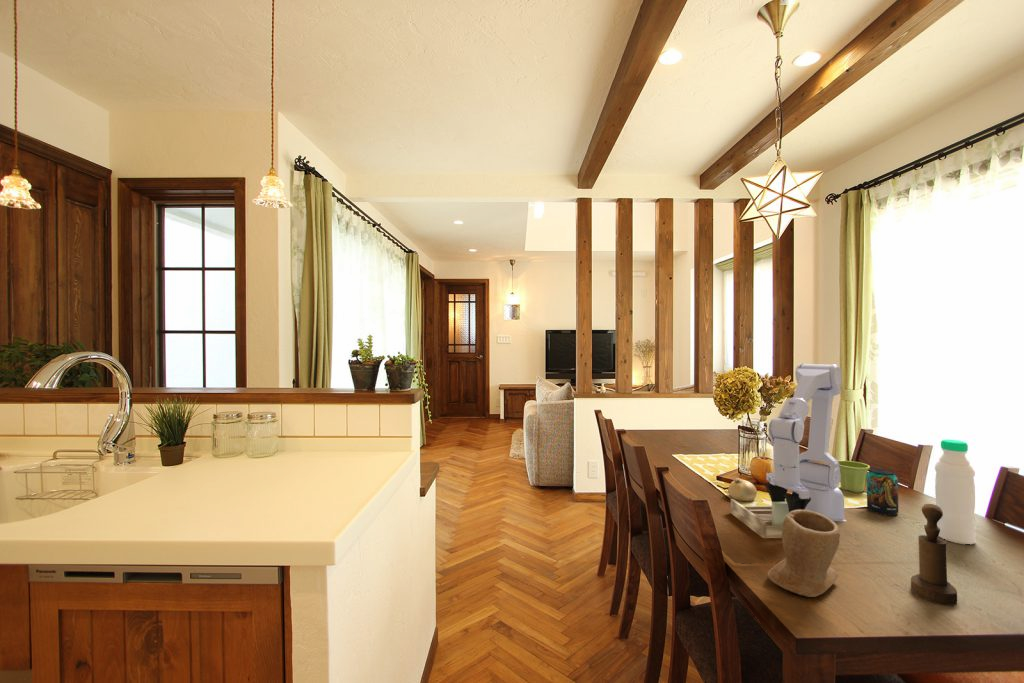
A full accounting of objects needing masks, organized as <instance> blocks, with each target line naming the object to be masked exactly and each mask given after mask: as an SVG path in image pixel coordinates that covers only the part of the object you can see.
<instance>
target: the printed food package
mask: <svg viewBox="0 0 1024 683" xmlns="http://www.w3.org/2000/svg"><path fill="white" fill-rule="evenodd" d="M866 506H867V508H868V509H869V510H870V511H871V512H873V513H875V514H879V515H884V516H895V515H897V514H898V513H899V478H898V477H897V476H896V473H895V472H894V471H893V470H890V469H889V470H888V469H884V468H878V467H877V468H874V467H873V468H872V467H871V468H869V469H868V472H867V474H866Z"/></svg>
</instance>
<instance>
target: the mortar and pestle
mask: <svg viewBox="0 0 1024 683" xmlns="http://www.w3.org/2000/svg"><path fill="white" fill-rule="evenodd" d="M921 513H922V514H923V516H924V517H925V520H926V524H924V528H923V529H924V532H925V534H922V535H921V534H920V535H918V538H917V539H918V540H917V541H918V568H919V570H918V571H919V572H918V573H916V574H914V575H912V576H911V577H910V590H911V592H912V593H913V594H914V595H916V596H917V597H919V598H921V599H923V600H926V601H928V602H931V603H934V604H938V605H943V606H954V605H956V604H957V603H958V591H957V588H956V587H955V586H953V585H952V584H951V583H950V582H949V581H948V570H947V569H948V568H947V567H948V566H947V565H948V564H947V563H948V562H947V540H944V539H942V538H941V537H940V538H939V536H938V535H939V532H940V528H938V526H937V522H938V521H939V520H940V519H941V518H942V516H943V512H942V510H941V508H940V507H939V506H937V505H936V504H932V503H925V504H923V505H922V507H921Z"/></svg>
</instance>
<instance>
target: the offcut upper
mask: <svg viewBox="0 0 1024 683" xmlns="http://www.w3.org/2000/svg"><path fill="white" fill-rule="evenodd" d="M755 515H756V516H758V517H759V518H761V519H762V520H763V521H772V514H755Z"/></svg>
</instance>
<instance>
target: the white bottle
mask: <svg viewBox="0 0 1024 683" xmlns="http://www.w3.org/2000/svg"><path fill="white" fill-rule="evenodd" d="M940 448H941V450H942V451H943V453H942V455H941V456H940V457H939V460H938V461H937V462H936V463H935V466H934V470H935V481H934V482H935V487H934V489H935V492H934V493H935V494H934V495H935V503H936V504H935V505H937V506H939V507H940V508H941V510H942V512H943V516H942V518H941V519H940V520H939V521H938V522H937V526H938V528H940V532H939V535H938V538H939V537H940V539H943V540H944V539H945V540H944V541H946V542H950V543H955V544H958V543H959V545H965V544H970V545H974V544H976V542H977V535H976V533H977V532H976V522H977V521H976V515H975V510H976V509H975V508H976V487H975V479H974V477H975V474H976V472H975V470H974V468H973V466H972V465H971V463H970V460H968V458H967V457H966V454H967V453H968V450H969V445H968V443H967V442H965V441H962V440H956V439H941V441H940Z"/></svg>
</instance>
